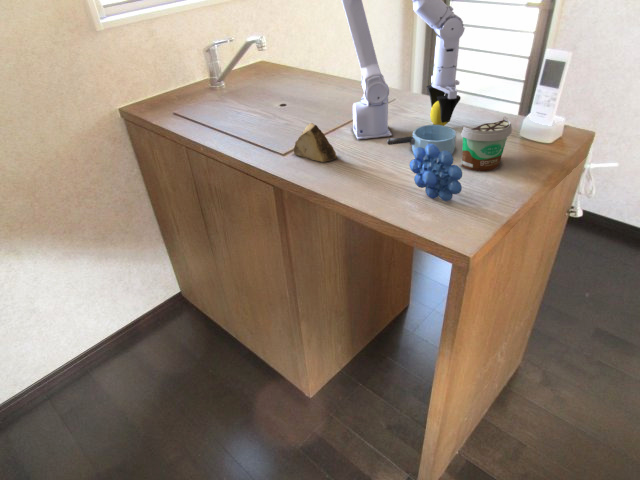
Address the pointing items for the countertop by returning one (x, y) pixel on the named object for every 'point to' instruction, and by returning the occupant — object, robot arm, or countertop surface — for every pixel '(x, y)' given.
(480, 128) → the food container
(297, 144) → the rock
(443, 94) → the robot arm
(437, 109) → the lemon
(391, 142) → the pan handle
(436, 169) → the grapes
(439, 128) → the pan
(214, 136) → the countertop surface
